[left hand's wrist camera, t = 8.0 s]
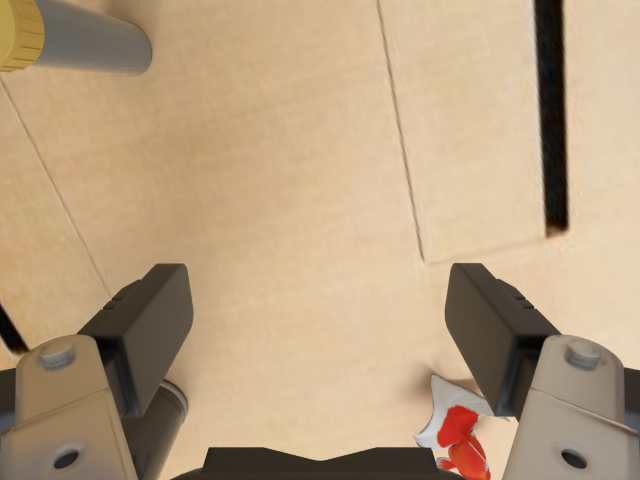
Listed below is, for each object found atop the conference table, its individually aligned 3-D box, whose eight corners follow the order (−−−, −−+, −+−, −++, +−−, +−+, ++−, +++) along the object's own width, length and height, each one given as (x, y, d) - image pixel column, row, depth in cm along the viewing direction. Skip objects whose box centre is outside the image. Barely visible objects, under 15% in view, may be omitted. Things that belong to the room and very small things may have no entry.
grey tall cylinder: (142, 17, 32) (-11, -46, 17) (158, 71, 34) (30, 54, 19) (96, 26, 32) (-95, -29, 18) (114, 79, 34) (-47, 69, 19)
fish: (408, 491, 48) (454, 543, 39) (386, 372, 49) (426, 394, 40) (475, 464, 51) (534, 507, 42) (453, 353, 52) (505, 369, 43)
